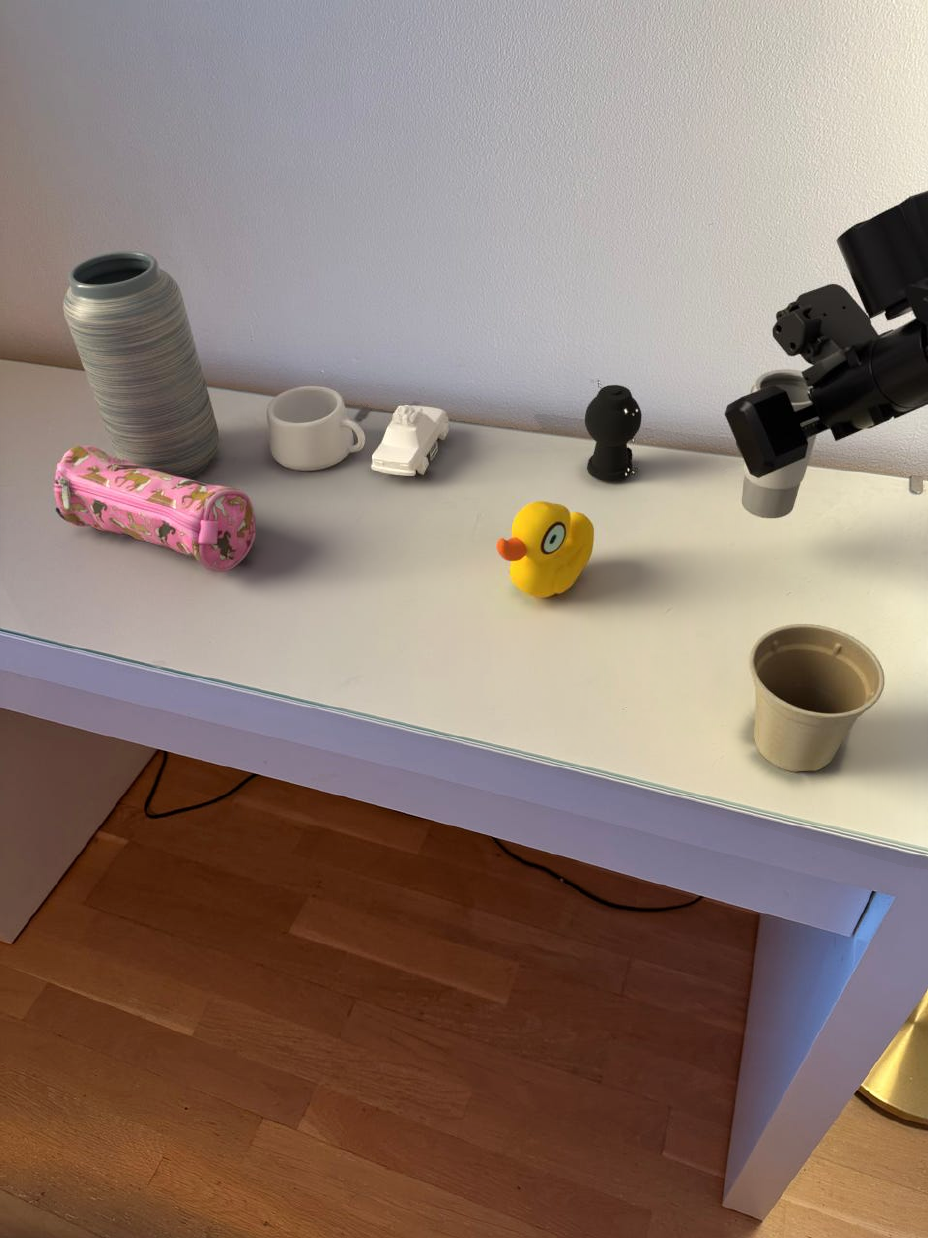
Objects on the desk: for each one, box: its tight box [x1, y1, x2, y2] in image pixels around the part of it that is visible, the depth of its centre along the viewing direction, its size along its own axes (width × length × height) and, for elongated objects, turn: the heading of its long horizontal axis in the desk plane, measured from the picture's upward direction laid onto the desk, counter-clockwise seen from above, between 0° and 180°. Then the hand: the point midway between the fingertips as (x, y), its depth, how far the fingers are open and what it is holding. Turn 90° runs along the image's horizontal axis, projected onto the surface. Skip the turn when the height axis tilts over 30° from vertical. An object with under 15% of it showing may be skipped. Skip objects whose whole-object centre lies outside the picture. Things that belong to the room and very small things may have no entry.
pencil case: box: [53, 445, 257, 573], centre depth 94 cm, size 21×9×9 cm, turn 63°
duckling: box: [496, 500, 595, 599], centre depth 85 cm, size 11×5×10 cm, turn 131°
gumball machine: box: [584, 379, 643, 482], centre depth 98 cm, size 7×6×10 cm
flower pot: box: [748, 623, 885, 773], centre depth 71 cm, size 9×9×9 cm
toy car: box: [370, 404, 450, 477], centre depth 103 cm, size 6×12×7 cm, turn 162°
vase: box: [62, 250, 220, 479], centre depth 100 cm, size 12×12×23 cm
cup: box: [741, 368, 819, 519], centre depth 82 cm, size 7×7×12 cm
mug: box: [266, 385, 366, 472], centre depth 106 cm, size 12×10×6 cm
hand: (768, 435), depth 82 cm, fingers closed on cup, 6 cm apart
